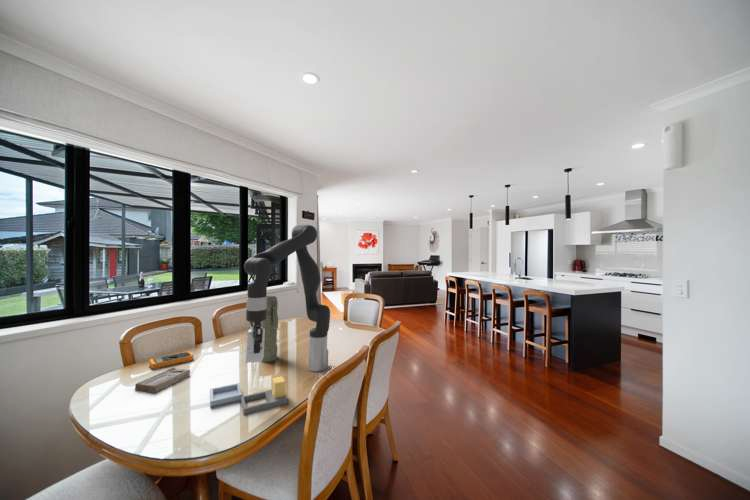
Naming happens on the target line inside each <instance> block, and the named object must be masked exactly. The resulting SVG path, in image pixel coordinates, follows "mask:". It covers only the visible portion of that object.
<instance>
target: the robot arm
mask: <svg viewBox="0 0 750 500" xmlns="http://www.w3.org/2000/svg"><path fill="white" fill-rule="evenodd" d="M290 235H291V238H289V239H286V240H282V241H281V242H278V243H277V244H275V245H273V246H271V247H270V248H268V249H267V250H265V251H262V252H260V253H257V254H255V255H253V256H251V257H248V259H247V260H246V261H244V264H243V269H244V272H245V273H246V274H247V275H251V276H255V279H254V281H251V282H249V283H248V284H247V295H246V296H247V298H246V305H245V308H246V311H245V320H246V322H249V329H251V330H252V338H254V342H253V343H254V354H256V353H260V343H262V332H263V329H262V325H261V321H264V320H266V318H267V298H266V296H267V293H268V292H267V291H268V290H267V289H268V288H267V287H268V283H269V280H270V277H271V274H272V266H275V265H277V264H279V263H280V262H282V261H283V260H284V259H286V258H287V257H289V256H290V255H292V254H293V253H296V257H297V261H298V266H299V271H300V276H301V281H302V286H303V291H304V297H305V298H304V299H305V308H306V309H305V311H306V316H307V318H308V320H310V321H311V322H315V323H316V325H315V327H312V328H311V329H310V330H309V340H308V343H309V345H308V370H309V371H311V372H322V371H324V370H327V369H328V368H329V349H328V333H329V330H330V322H331V321H330V320H331V310H330V307H329V306H328V305H325V304H319V300H318V296H317V295H318V290H319V287H320V284H321V274H320V268H319V266H318V264H317V263H316V261H315V260H314V258H313V257H312V256H311V254H310V252H309V250H308V247H307V246H309V245H311V244H312V243H315V241H316V240H317V237H318V232H317V229H316V227H315V226H313V225H311V224H301V225H295V226H293V228H292V229H291V234H290ZM254 334H255V335H254ZM257 338H259V340H257Z"/></svg>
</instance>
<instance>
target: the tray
mask: <svg viewBox="0 0 750 500" xmlns="http://www.w3.org/2000/svg"><path fill="white" fill-rule="evenodd" d="M241 396H243V392H242V388H241V384H240V383H239V382H237V383H231V384H227V385H223V386H216V387H212V388H210V389H209V406H210V409H211V408H216V407H220V406H225V405H229V404H234V403H238V402H241Z"/></svg>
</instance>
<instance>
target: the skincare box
mask: <svg viewBox="0 0 750 500" xmlns="http://www.w3.org/2000/svg"><path fill="white" fill-rule="evenodd" d="M246 335H247V338H246V353H245V355H246V357H245V363H261V362H262V360H263V357H264V338H265V329H263V332H262V343H260V353H256V354H254V343H253V342H254V338H252V330H251V329H250V328H249V329H248V331H247V334H246ZM254 335H255V334H254ZM257 340H259V338H257ZM262 363H263V362H262Z"/></svg>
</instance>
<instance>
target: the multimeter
mask: <svg viewBox="0 0 750 500" xmlns="http://www.w3.org/2000/svg"><path fill="white" fill-rule="evenodd" d="M193 359H194V354H193V352H191V351H183V352H180V353H175V354H169V355H165V356H161V357H156V358H151V359H149V366H150V368H151V369H152V370H156V369H162V368H164V367H165V368H166V367H169V366H173V365H178V364H183V363H184V364H185V363H187V362H191V361H192V360H193Z"/></svg>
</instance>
